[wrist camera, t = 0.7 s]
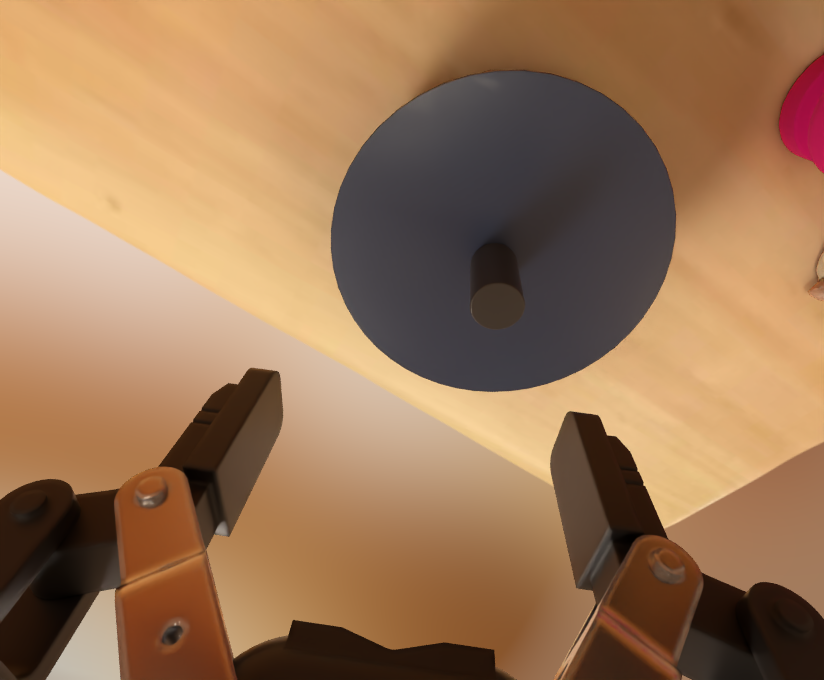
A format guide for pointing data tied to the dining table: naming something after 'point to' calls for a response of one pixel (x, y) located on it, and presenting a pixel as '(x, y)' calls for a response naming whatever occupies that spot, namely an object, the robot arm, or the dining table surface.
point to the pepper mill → (805, 115)
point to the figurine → (819, 281)
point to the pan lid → (503, 230)
